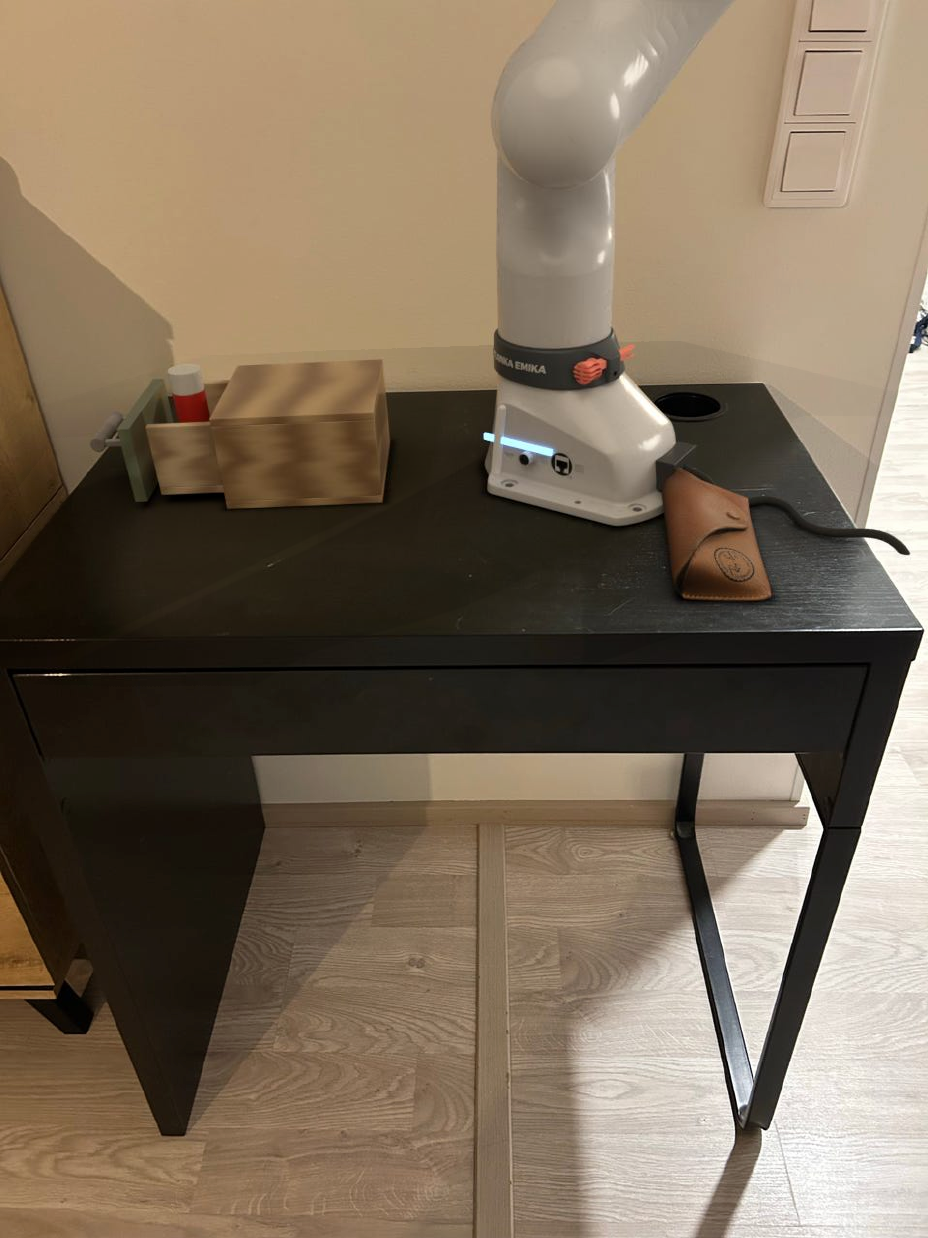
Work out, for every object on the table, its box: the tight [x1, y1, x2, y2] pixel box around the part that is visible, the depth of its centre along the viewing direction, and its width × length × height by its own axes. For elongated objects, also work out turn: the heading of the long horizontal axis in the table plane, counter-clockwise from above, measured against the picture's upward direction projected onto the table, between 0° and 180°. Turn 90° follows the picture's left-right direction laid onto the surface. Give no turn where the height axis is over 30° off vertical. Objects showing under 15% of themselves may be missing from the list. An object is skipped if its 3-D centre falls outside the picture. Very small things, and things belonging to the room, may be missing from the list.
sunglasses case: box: [661, 468, 772, 603], centre depth 85 cm, size 18×7×7 cm
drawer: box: [89, 378, 230, 503], centre depth 99 cm, size 19×13×8 cm
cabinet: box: [209, 358, 391, 510], centre depth 99 cm, size 16×15×10 cm
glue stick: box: [166, 363, 210, 423], centre depth 98 cm, size 3×3×10 cm
